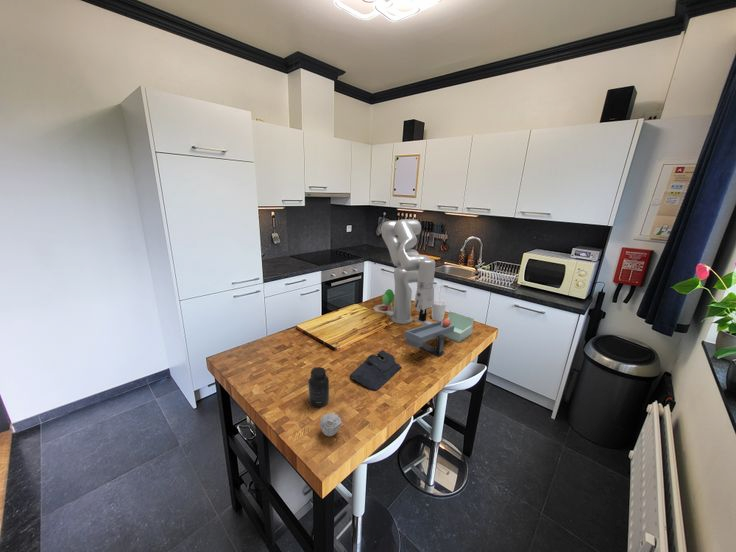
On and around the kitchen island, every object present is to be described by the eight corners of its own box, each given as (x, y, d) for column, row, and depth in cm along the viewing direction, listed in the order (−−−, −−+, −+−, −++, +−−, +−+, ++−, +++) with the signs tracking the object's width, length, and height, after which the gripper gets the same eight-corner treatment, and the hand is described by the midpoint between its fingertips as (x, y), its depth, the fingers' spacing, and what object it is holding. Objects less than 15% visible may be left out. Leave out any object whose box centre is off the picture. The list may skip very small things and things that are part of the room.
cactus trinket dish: (386, 283, 186) (402, 289, 176) (385, 302, 190) (400, 309, 179) (368, 287, 177) (383, 293, 166) (368, 307, 181) (382, 315, 170)
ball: (441, 324, 139) (444, 317, 140) (440, 325, 143) (443, 318, 144) (449, 328, 138) (452, 320, 139) (447, 329, 142) (451, 321, 143)
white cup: (443, 316, 171) (445, 300, 168) (445, 321, 163) (447, 305, 160) (429, 315, 171) (431, 299, 169) (431, 321, 164) (432, 304, 161)
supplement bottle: (310, 394, 102) (309, 365, 98) (329, 394, 102) (329, 364, 99) (307, 408, 95) (306, 377, 92) (328, 407, 96) (328, 376, 92)
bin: (435, 333, 149) (436, 317, 147) (448, 325, 159) (449, 310, 156) (459, 343, 140) (461, 326, 138) (471, 334, 150) (473, 318, 147)
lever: (389, 336, 129) (390, 324, 128) (425, 325, 150) (427, 315, 150) (418, 349, 118) (420, 337, 117) (452, 335, 140) (454, 325, 139)
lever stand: (414, 346, 136) (415, 328, 134) (420, 342, 140) (421, 325, 137) (438, 357, 127) (440, 338, 125) (444, 353, 131) (446, 335, 128)
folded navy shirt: (343, 379, 112) (343, 368, 110) (374, 354, 129) (374, 345, 128) (376, 394, 103) (376, 383, 102) (404, 366, 121) (405, 356, 120)
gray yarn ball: (331, 447, 81) (330, 426, 79) (315, 433, 85) (314, 414, 84) (346, 434, 86) (346, 414, 84) (330, 422, 90) (330, 403, 88)
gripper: (423, 289, 128) (420, 327, 133) (440, 283, 138) (437, 318, 143) (409, 285, 133) (407, 322, 138) (427, 279, 143) (424, 313, 148)
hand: (422, 320), depth 141 cm, fingers closed
